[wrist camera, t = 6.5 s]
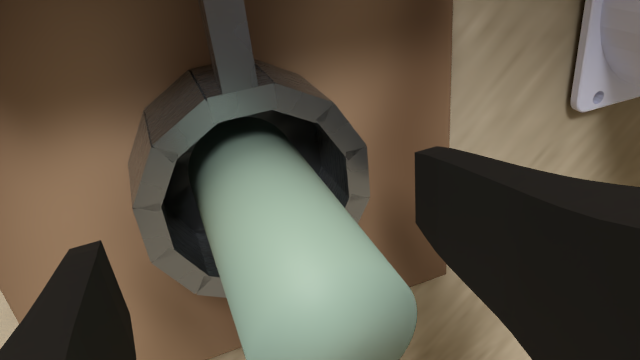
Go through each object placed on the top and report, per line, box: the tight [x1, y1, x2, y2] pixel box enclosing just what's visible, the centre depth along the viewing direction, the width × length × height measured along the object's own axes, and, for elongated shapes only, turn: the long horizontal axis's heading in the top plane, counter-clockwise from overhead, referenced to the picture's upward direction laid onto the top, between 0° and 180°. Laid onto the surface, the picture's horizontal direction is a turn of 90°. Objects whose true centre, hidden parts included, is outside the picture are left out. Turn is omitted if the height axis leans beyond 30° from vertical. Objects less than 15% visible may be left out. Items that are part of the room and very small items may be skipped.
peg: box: [188, 117, 417, 360], centre depth 11 cm, size 3×3×7 cm
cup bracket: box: [0, 0, 453, 360], centre depth 13 cm, size 14×14×5 cm
